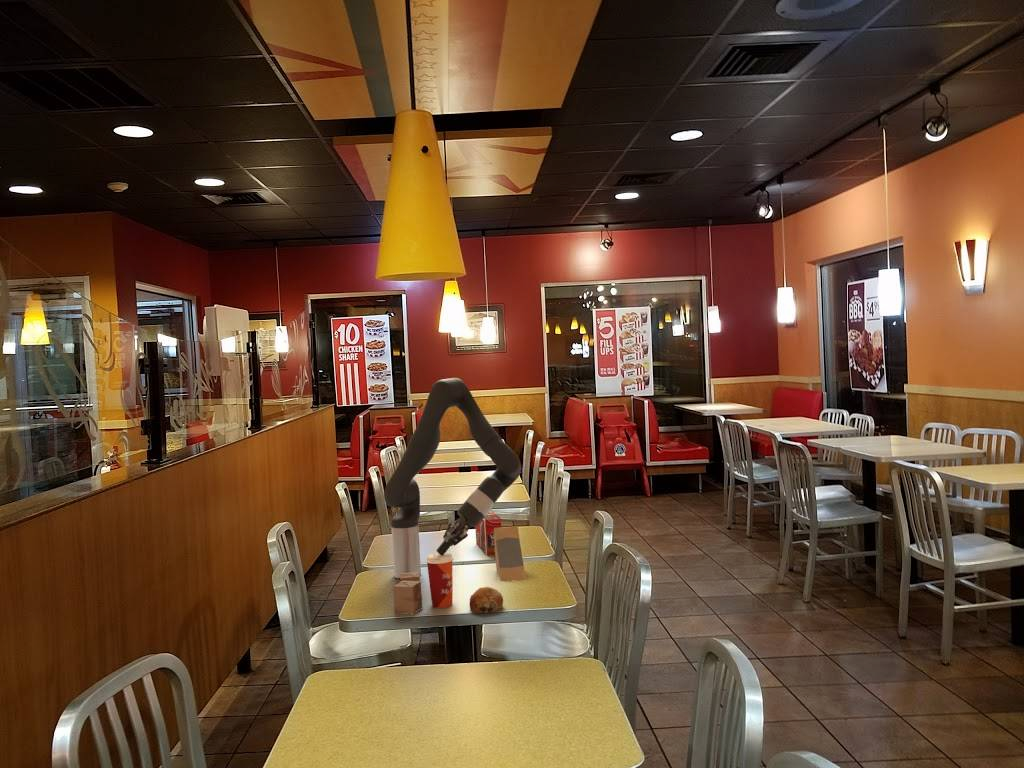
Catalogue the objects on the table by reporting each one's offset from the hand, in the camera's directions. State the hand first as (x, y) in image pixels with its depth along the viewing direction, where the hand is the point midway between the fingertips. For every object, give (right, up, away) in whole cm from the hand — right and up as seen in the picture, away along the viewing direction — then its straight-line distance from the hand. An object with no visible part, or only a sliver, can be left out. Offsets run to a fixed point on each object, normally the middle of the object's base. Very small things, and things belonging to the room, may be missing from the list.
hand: (439, 553), depth 245 cm
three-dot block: (-9, -16, -3) cm, 19 cm away
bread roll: (+14, -15, -5) cm, 22 cm away
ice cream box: (+13, -13, +72) cm, 74 cm away
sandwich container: (+21, -14, +31) cm, 40 cm away
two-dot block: (-9, -16, +7) cm, 20 cm away
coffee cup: (+1, -16, +1) cm, 16 cm away
